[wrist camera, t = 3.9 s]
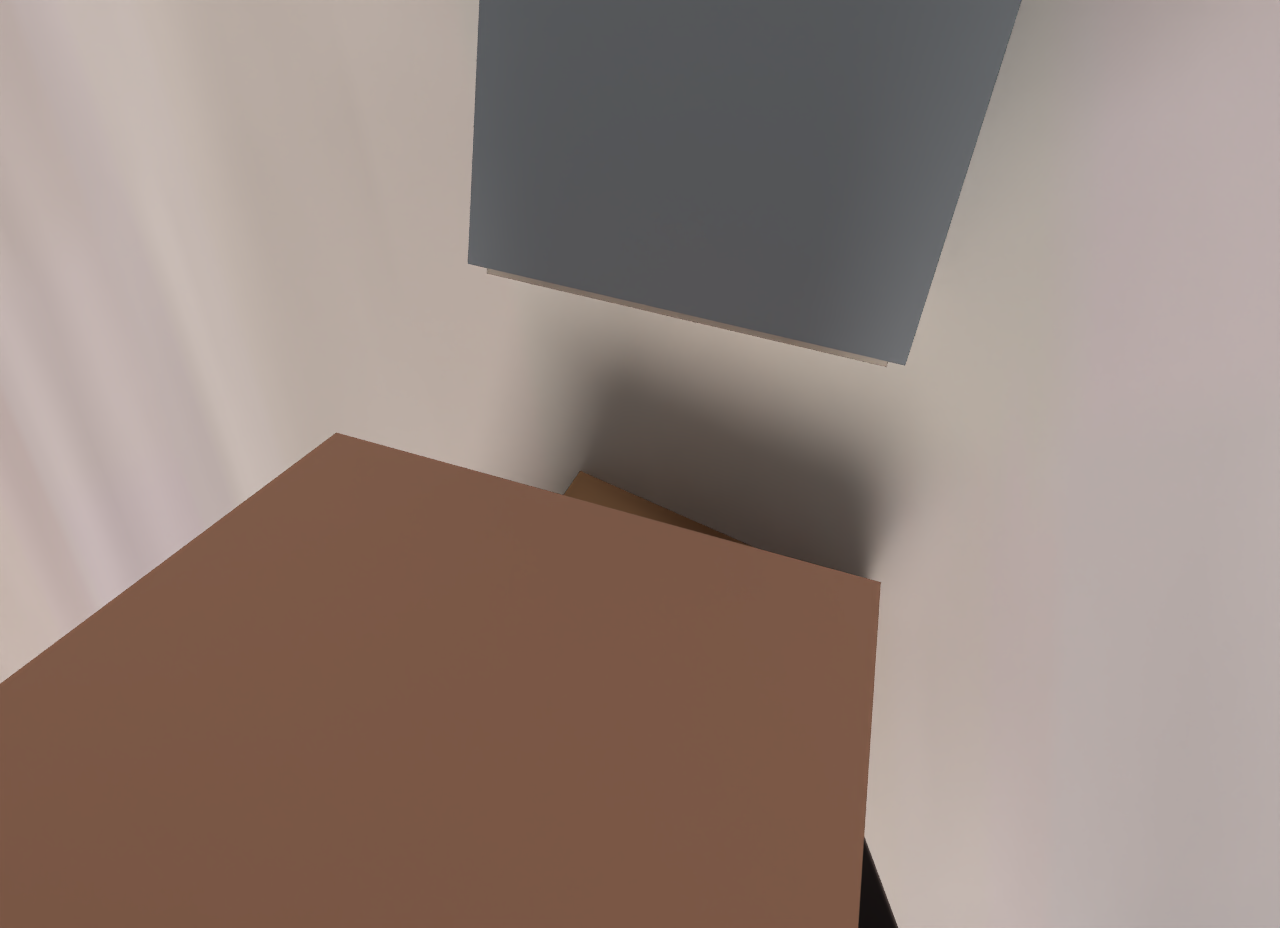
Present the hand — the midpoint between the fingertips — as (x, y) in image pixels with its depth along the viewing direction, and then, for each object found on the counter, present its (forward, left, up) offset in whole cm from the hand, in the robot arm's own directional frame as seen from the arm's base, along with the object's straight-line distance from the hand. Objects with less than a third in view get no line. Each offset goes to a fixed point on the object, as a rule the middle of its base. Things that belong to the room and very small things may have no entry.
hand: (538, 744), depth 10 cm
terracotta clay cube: (0, 0, -1) cm, 1 cm away
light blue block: (0, -6, -10) cm, 12 cm away
